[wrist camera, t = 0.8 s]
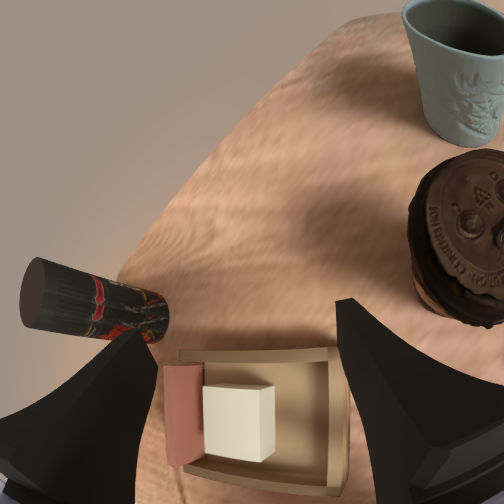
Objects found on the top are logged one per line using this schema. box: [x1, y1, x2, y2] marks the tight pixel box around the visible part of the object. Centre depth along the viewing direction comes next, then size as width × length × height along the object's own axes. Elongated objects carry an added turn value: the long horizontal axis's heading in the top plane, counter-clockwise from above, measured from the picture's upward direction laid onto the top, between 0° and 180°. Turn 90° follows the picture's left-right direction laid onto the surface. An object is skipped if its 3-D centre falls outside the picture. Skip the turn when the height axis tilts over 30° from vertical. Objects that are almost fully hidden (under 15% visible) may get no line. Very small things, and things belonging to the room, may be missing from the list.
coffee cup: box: [407, 148, 504, 329], centre depth 15 cm, size 9×8×13 cm
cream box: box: [203, 383, 275, 462], centre depth 22 cm, size 6×5×3 cm
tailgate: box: [164, 365, 205, 468], centre depth 24 cm, size 9×1×6 cm, turn 1°
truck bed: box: [179, 346, 350, 497], centre depth 22 cm, size 12×14×4 cm
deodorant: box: [20, 257, 169, 344], centre depth 26 cm, size 6×6×15 cm
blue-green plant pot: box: [402, 0, 504, 148], centre depth 18 cm, size 10×10×12 cm
